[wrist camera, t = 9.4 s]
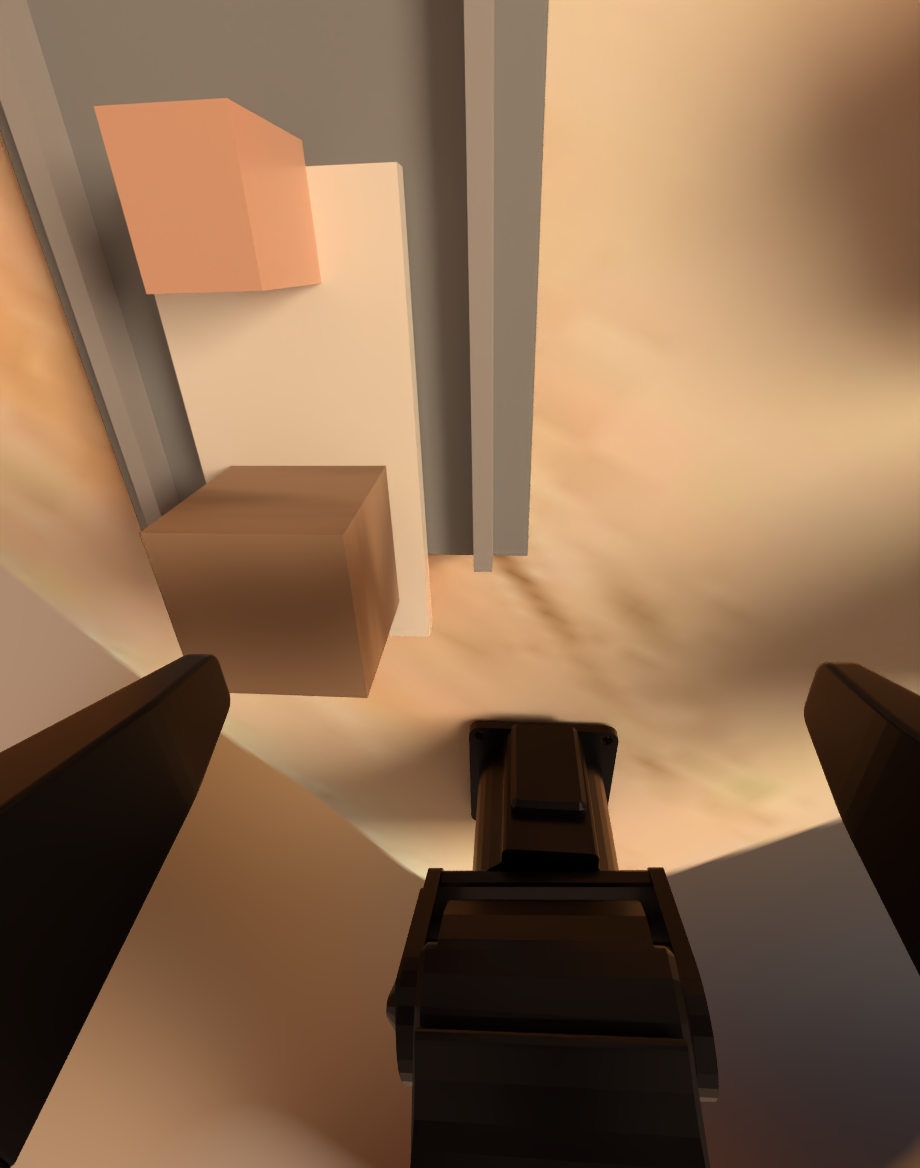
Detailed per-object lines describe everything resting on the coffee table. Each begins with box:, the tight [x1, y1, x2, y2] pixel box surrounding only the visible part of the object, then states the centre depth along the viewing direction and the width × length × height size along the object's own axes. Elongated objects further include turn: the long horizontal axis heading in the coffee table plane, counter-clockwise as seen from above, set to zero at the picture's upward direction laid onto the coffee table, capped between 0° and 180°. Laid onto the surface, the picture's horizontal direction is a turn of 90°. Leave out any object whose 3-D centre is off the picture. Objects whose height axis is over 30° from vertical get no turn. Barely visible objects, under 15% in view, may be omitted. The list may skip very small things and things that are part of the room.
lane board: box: [0, 0, 549, 572], centre depth 15 cm, size 18×14×2 cm
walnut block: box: [140, 466, 399, 698], centre depth 16 cm, size 5×5×5 cm
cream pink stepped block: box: [94, 98, 432, 637], centre depth 16 cm, size 14×7×5 cm, turn 2°
